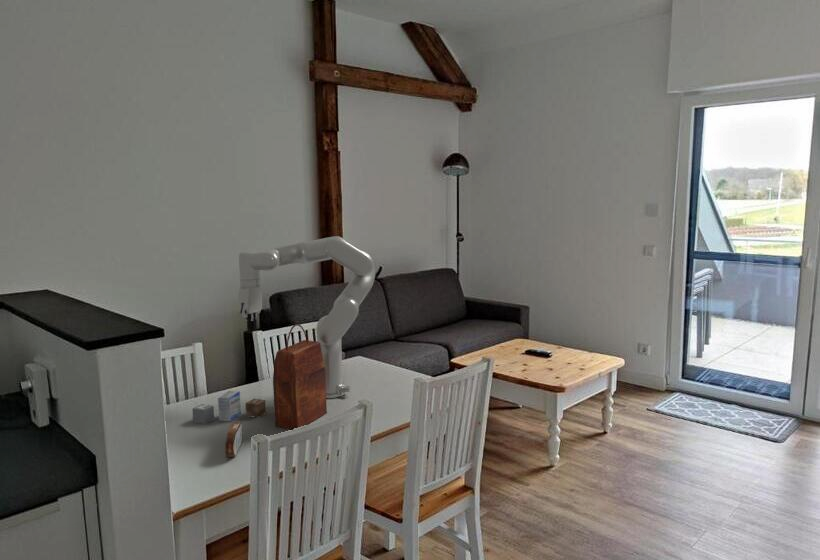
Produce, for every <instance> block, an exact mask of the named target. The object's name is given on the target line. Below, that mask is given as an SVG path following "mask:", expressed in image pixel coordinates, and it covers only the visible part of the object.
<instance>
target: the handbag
mask: <svg viewBox="0 0 820 560" xmlns="http://www.w3.org/2000/svg"><path fill="white" fill-rule="evenodd" d="M296 326H298V327H300V328H301V330H302V331H303V335H304V337H305V339H304V340H301V341H298V342H296V343H294V344H291V345H289V340H290V336H291V333H292V331H293V329H295V328H296ZM288 332H289V333H288V335H287V338H286V346H285V347H284V348H282V349H279V350H277V351H276V353H275V358H274V362H273V363H274V366H273V375H272V385H273V386H272V388H273V389H272V390H273V405H274V406H273V407H274V422H275V423H274V424H275V427H277V428H282V429H287V430H291V429H294V428H298V427H301V426H304V425H306V426H308V425H309V424H311V423H312V422H313V421H315V420H317V419H319V418H320V417H322V416H323V415H325V414H327V412H328V411H327V410H328V409H327V398H326V380H325V365H324V360H323V355H322V350H321V345H320V342H317V340H316V341H315V340H309V339H308V336H307V334H306V331H305V329H304V327H303V326H302V325H301V324H299V323H297V324H294V325H293V326H292V327H290V330H289V331H288ZM307 424H308V425H307Z"/></svg>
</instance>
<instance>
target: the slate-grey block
mask: <svg viewBox="0 0 820 560" xmlns="http://www.w3.org/2000/svg"><path fill="white" fill-rule="evenodd" d="M214 406H215V405H213V404H212V405H211V404H207V403H206V404H204V403H201V404H199V405H196V406H195V407H193V408H192V422H193V423H196V422H197V424H203V425H205V424H207V423H210V422H211V421H213V420H215V409H214V408H215V407H214Z"/></svg>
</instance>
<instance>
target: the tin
mask: <svg viewBox="0 0 820 560" xmlns="http://www.w3.org/2000/svg"><path fill="white" fill-rule="evenodd" d="M243 426H244V422H243V421H242V420H232V423H231V425H230V426H229V428H228V429H227V433H226V438H225V447H224V453H225V457H226V458H233V457H234V458H235V457H236V456H237V454H238V452H239V450H240V449H241V446H242V442H243V437H244V435H243Z"/></svg>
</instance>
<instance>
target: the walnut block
mask: <svg viewBox="0 0 820 560" xmlns="http://www.w3.org/2000/svg"><path fill="white" fill-rule="evenodd" d="M266 405H267V404H266V400H265V399H259V398H252V399H250V400H249V401H247V402H245V416H246V415H247V416H246V417H249V416H254V417H253V418H256V417H258V418H260V417H262V416H263V415H265V414H267V407H266ZM264 413H265V414H264ZM262 414H263V415H262ZM261 415H262V416H261ZM259 416H260V417H259Z"/></svg>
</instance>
